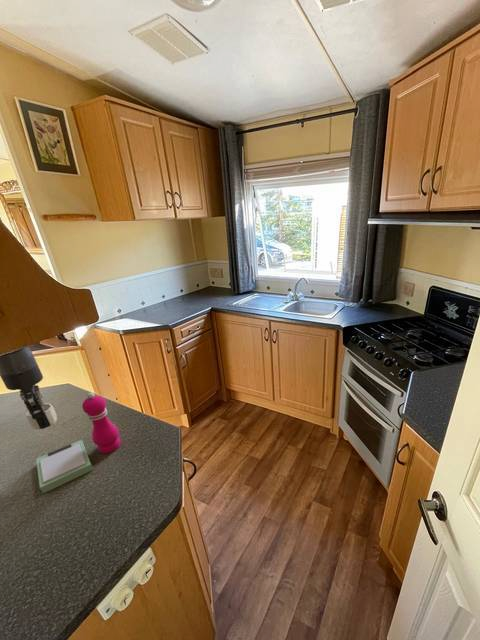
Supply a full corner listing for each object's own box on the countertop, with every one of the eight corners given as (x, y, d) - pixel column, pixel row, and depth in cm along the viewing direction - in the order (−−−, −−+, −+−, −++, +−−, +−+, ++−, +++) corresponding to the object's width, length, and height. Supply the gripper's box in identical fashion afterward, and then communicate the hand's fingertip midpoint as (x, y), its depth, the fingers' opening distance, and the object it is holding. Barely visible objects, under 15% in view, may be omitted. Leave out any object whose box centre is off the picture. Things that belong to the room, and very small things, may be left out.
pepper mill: (102, 458, 87) (80, 403, 79) (93, 447, 92) (71, 394, 83) (126, 445, 92) (107, 391, 83) (117, 435, 97) (98, 384, 88)
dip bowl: (27, 431, 76) (20, 417, 74) (40, 417, 82) (34, 404, 80) (50, 428, 77) (43, 414, 75) (62, 415, 82) (56, 402, 80)
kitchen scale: (38, 464, 87) (35, 457, 85) (84, 445, 93) (81, 438, 92) (43, 493, 77) (38, 486, 75) (93, 469, 83) (90, 462, 82)
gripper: (-2, 362, 75) (26, 415, 82) (-3, 382, 64) (29, 441, 72) (34, 353, 79) (57, 405, 86) (38, 371, 69) (64, 427, 76)
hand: (44, 421), depth 79 cm, fingers closed on dip bowl, 6 cm apart
